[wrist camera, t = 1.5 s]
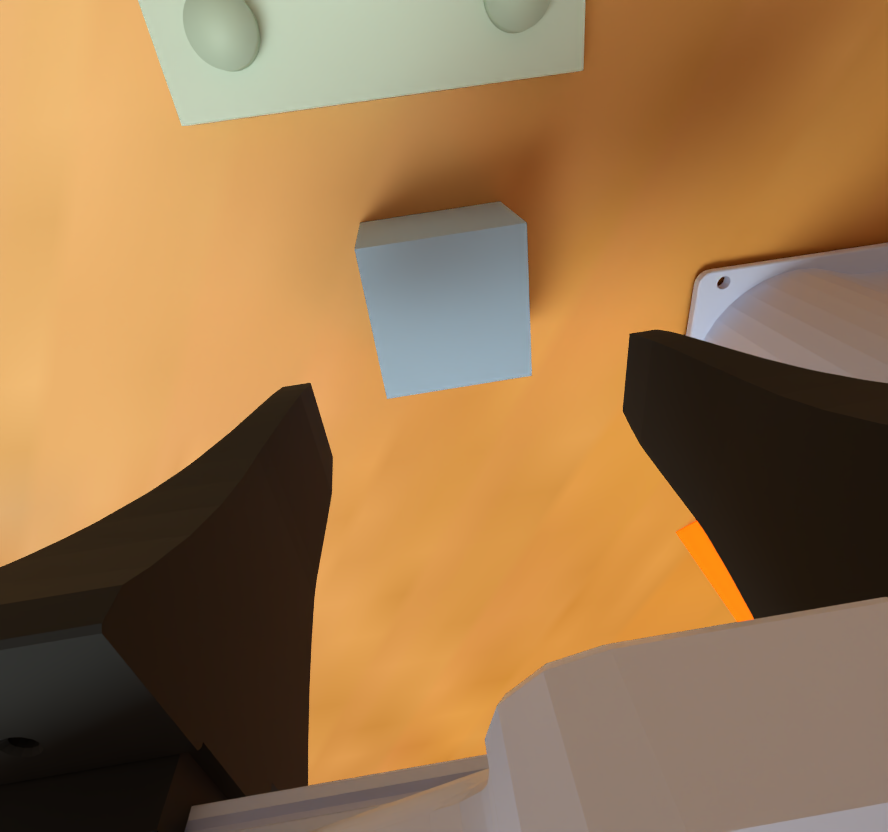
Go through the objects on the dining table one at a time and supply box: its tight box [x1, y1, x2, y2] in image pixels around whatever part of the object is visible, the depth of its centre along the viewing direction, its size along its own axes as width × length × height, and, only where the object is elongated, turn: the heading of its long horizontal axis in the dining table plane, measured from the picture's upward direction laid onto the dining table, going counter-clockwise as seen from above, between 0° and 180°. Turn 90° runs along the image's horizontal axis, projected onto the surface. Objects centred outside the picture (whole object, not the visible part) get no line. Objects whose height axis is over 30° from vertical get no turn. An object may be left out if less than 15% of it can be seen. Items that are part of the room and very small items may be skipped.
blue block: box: [355, 201, 532, 399], centre depth 17 cm, size 5×5×4 cm
